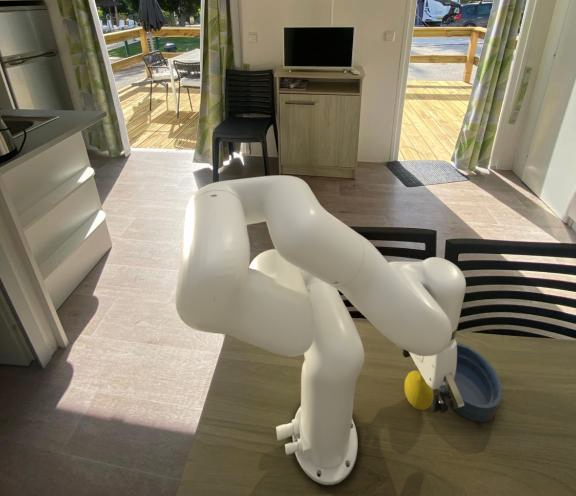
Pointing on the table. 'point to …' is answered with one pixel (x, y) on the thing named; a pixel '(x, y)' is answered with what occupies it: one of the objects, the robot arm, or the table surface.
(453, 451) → the table surface
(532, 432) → the table surface
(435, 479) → the table surface
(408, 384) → the lemon
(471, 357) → the bowl
